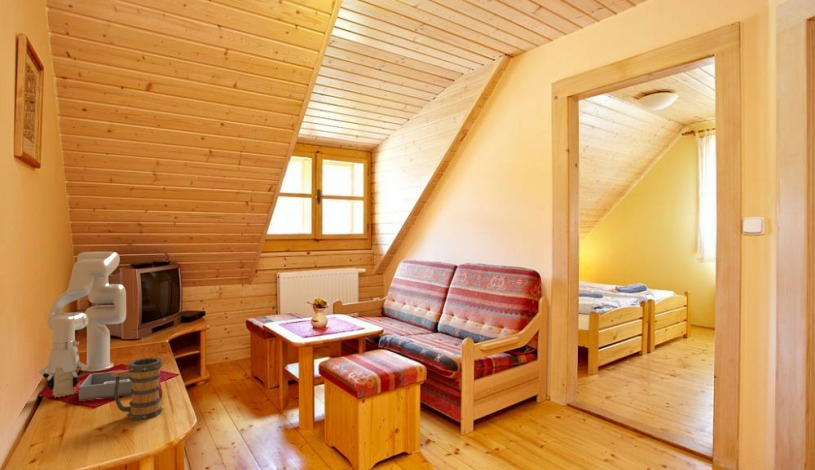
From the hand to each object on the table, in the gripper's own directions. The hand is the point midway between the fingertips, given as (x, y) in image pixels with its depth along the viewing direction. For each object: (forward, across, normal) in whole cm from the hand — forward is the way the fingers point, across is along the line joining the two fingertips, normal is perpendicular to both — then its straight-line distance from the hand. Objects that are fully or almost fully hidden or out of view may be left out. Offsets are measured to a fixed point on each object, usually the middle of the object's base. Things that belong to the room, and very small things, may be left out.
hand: (63, 387), depth 184 cm
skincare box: (+4, 0, 0) cm, 4 cm away
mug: (+4, -32, +37) cm, 49 cm away
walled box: (+3, -19, +3) cm, 20 cm away
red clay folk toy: (+4, -35, +22) cm, 41 cm away
